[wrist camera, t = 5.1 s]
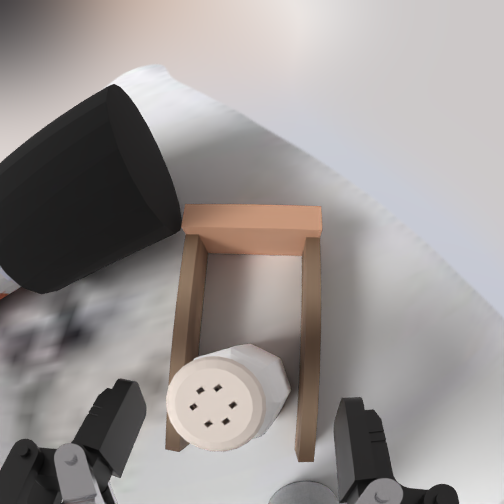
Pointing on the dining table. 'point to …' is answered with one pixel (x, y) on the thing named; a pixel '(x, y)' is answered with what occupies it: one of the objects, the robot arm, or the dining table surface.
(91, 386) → the dining table surface
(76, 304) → the dining table surface
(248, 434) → the pepper shaker
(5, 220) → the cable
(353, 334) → the dining table surface
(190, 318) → the guide channel
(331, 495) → the planter
